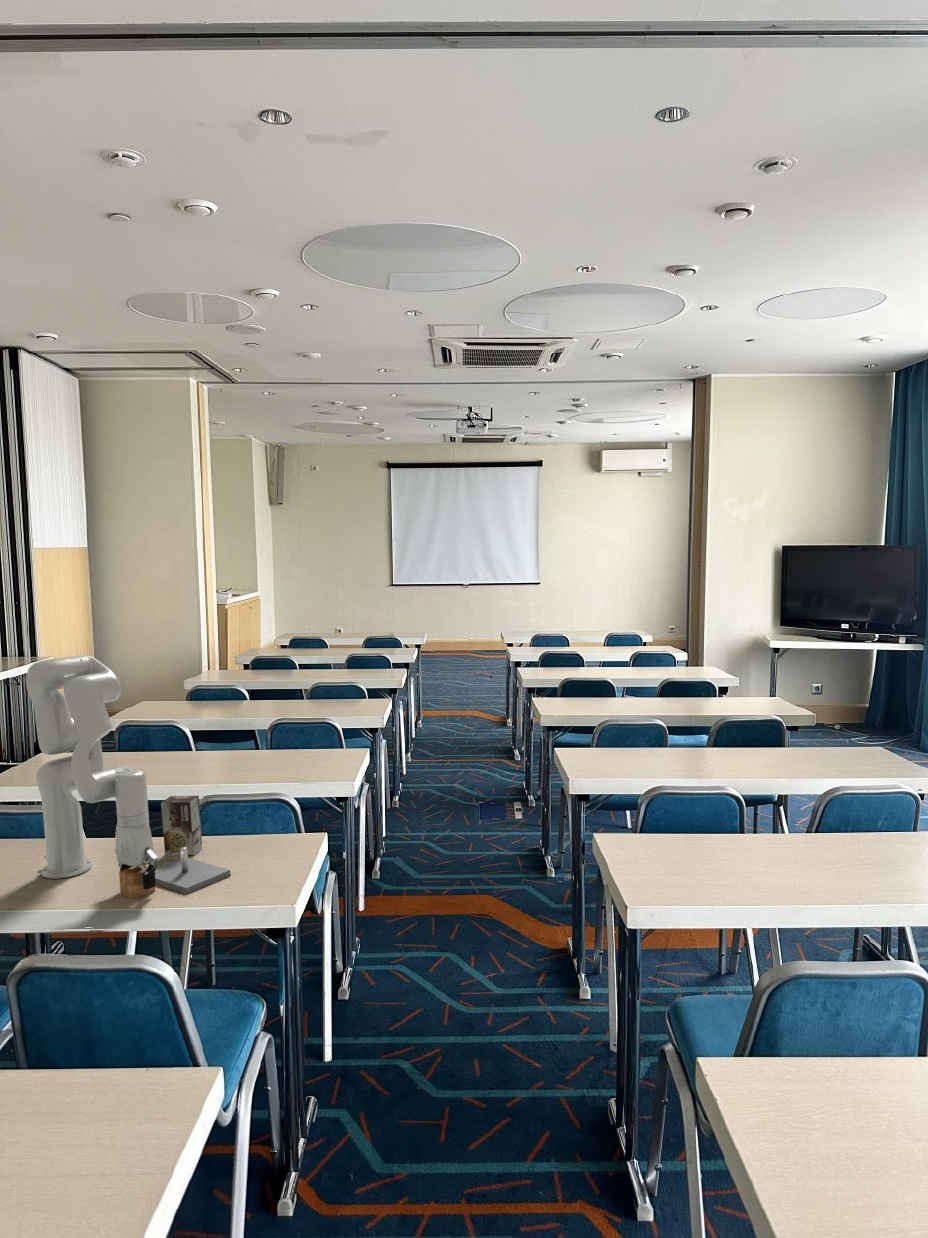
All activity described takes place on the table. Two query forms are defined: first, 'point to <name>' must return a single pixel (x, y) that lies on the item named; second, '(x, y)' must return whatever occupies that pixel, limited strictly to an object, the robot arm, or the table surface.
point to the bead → (133, 883)
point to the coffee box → (181, 825)
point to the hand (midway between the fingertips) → (138, 884)
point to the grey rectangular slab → (188, 875)
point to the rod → (184, 859)
